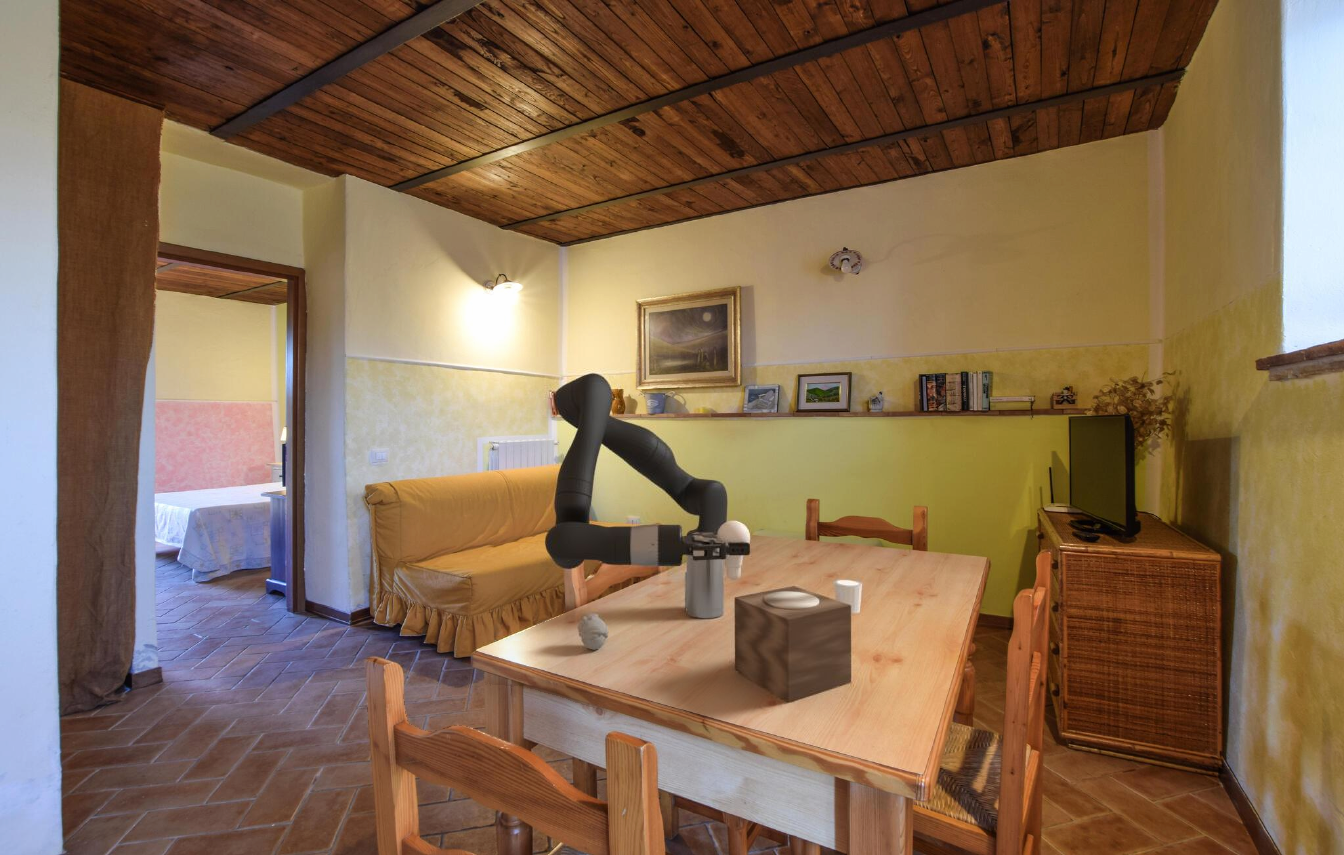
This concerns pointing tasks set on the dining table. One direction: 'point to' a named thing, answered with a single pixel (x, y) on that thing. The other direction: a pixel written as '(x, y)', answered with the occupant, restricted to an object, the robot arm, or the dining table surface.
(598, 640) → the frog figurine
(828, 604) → the lamp housing
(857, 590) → the shot glass
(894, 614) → the dining table surface
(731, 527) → the lightbulb
